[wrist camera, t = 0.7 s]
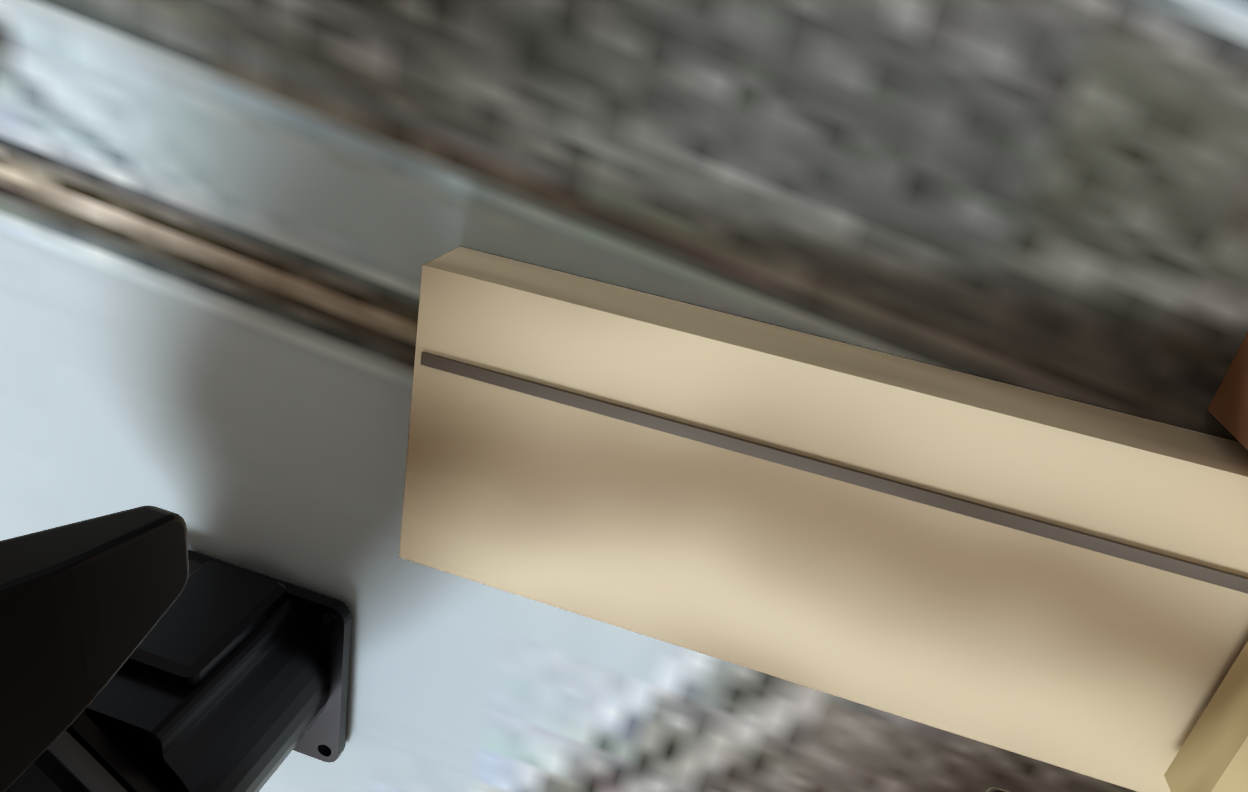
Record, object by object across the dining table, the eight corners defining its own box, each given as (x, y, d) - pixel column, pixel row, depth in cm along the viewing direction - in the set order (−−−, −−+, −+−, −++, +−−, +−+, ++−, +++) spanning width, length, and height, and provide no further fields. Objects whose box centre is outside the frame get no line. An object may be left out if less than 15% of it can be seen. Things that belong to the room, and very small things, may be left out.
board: (1399, 816, 20) (1456, 896, 18) (432, 519, 24) (396, 559, 22) (1624, 538, 17) (1723, 601, 15) (460, 246, 20) (420, 265, 19)
